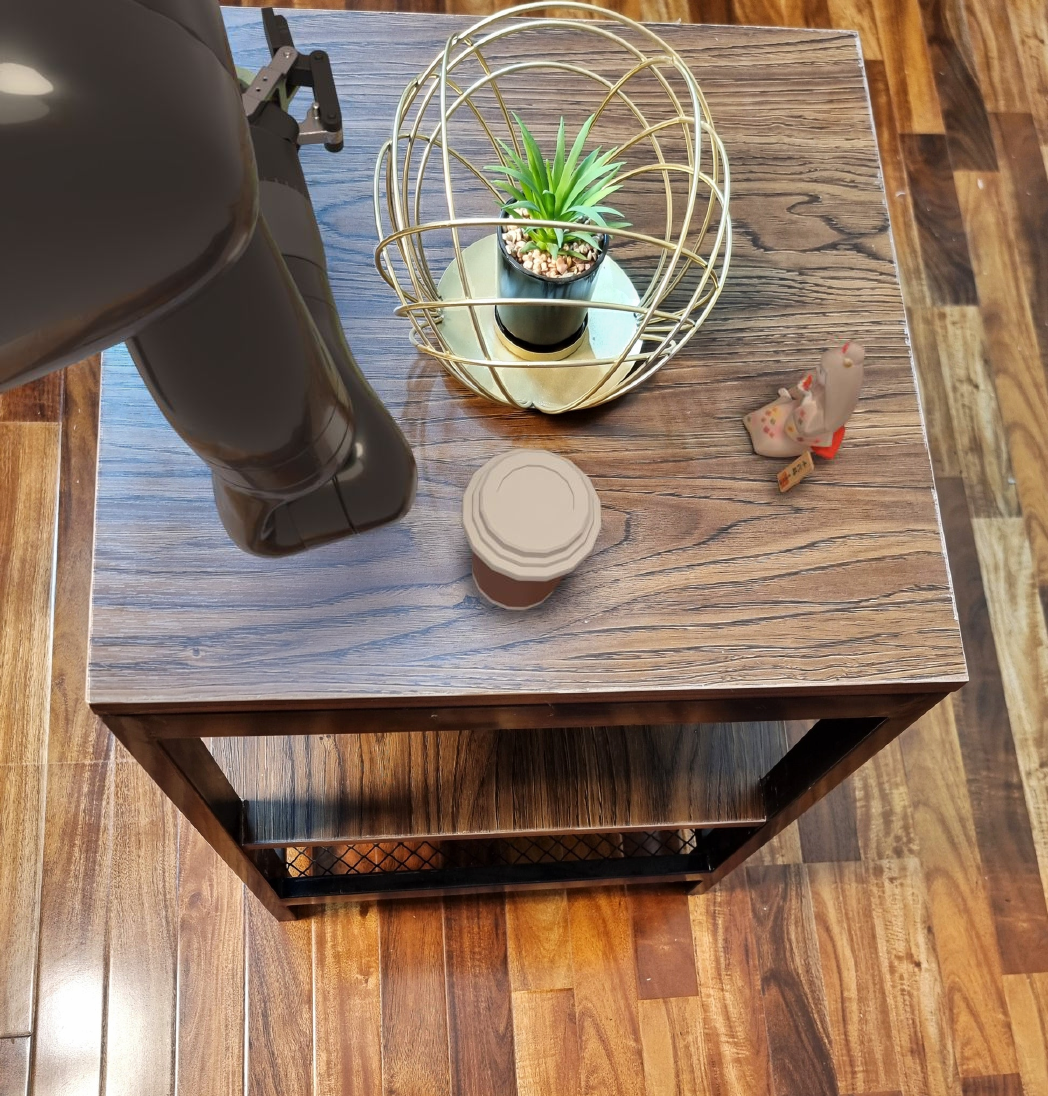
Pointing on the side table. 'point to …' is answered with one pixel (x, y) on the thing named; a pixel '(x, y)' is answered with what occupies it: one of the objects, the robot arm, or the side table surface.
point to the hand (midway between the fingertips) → (199, 26)
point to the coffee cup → (528, 525)
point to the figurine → (810, 413)
